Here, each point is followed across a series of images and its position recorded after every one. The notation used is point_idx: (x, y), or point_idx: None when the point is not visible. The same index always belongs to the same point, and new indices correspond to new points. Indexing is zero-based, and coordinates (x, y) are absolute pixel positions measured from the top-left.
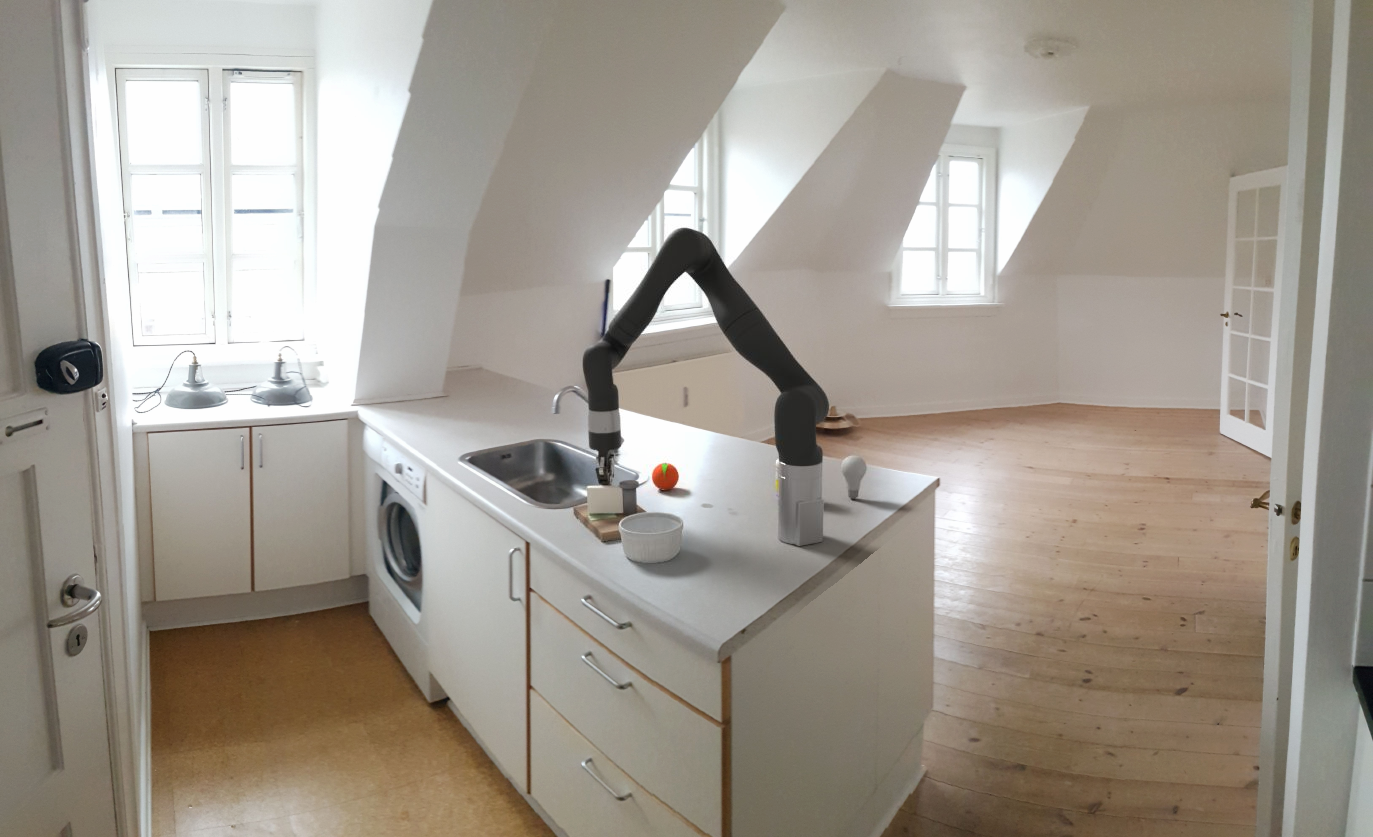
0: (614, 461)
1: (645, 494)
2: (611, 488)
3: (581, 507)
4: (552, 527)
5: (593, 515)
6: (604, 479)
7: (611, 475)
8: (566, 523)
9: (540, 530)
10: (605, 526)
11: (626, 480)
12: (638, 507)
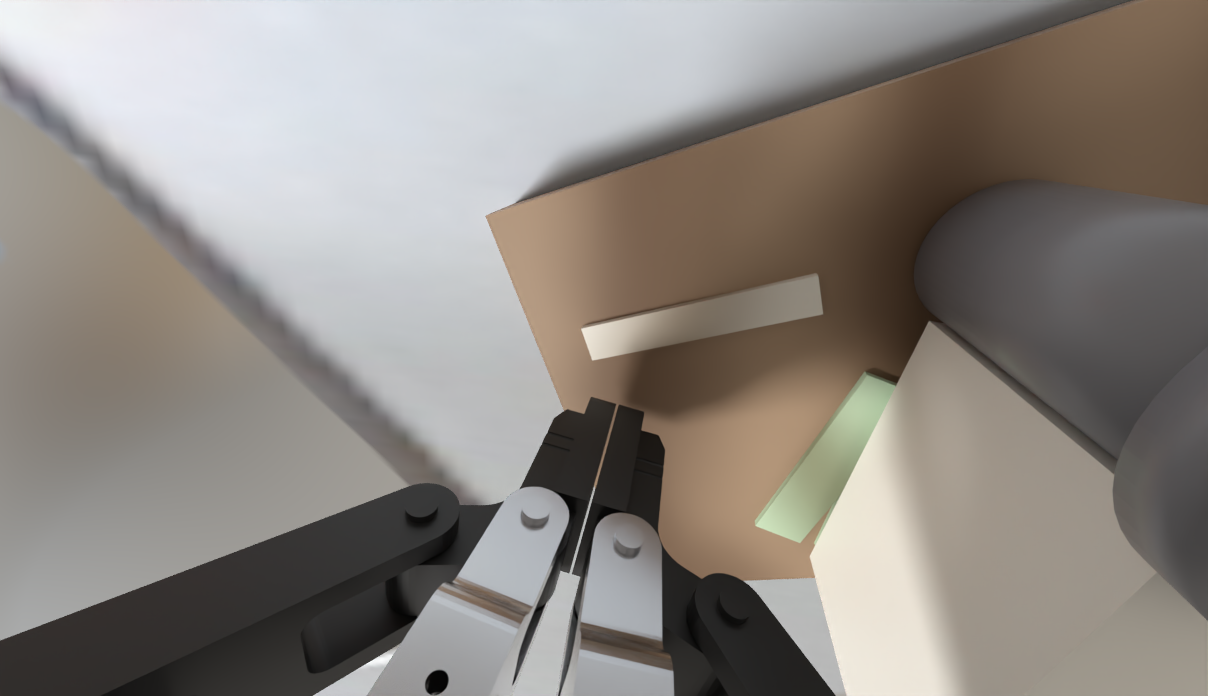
0: (88, 643)
1: (201, 25)
2: (1193, 688)
3: None
4: (816, 643)
5: None
6: (709, 686)
7: (671, 662)
8: (775, 588)
9: (840, 684)
10: None
11: (1205, 522)
12: (797, 141)
